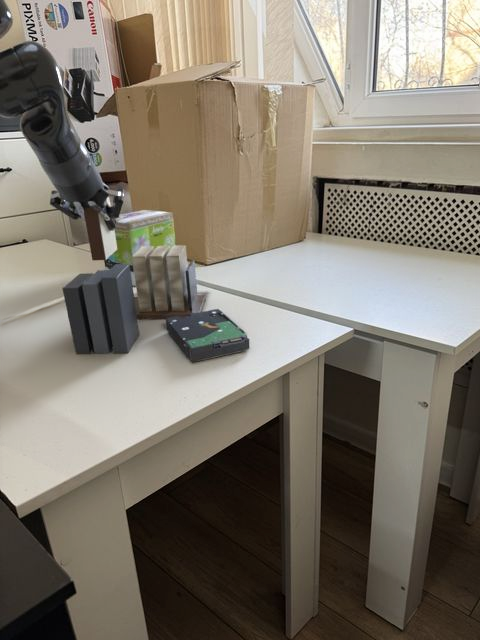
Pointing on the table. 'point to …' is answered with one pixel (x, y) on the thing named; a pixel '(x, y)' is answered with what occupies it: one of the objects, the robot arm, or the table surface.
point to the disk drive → (207, 335)
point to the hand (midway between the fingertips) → (104, 226)
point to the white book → (99, 235)
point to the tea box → (140, 235)
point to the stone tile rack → (165, 283)
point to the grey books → (102, 311)
